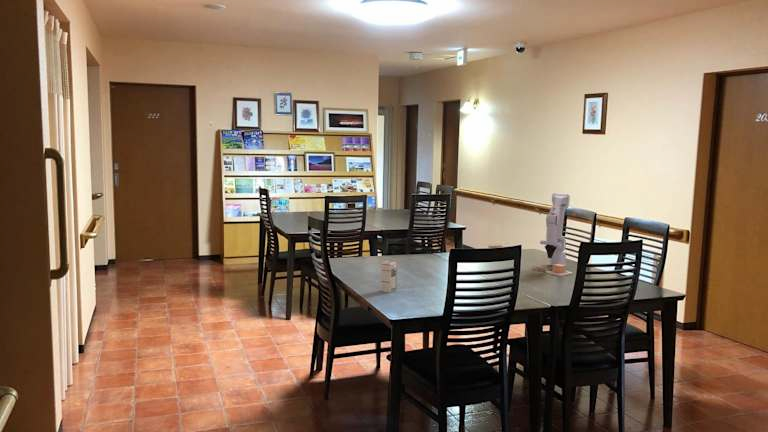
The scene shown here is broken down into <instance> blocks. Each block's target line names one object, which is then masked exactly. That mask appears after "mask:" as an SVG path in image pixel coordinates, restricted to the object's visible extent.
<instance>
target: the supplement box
mask: <svg viewBox="0 0 768 432" xmlns="http://www.w3.org/2000/svg"><path fill="white" fill-rule="evenodd" d="M501 247H504V246H503V244H500V243H498V244H497V243H495V244H494V243H489V244H488V248H501ZM488 248H487V249H488Z"/></svg>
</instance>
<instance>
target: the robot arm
mask: <svg viewBox="0 0 768 432" xmlns="http://www.w3.org/2000/svg"><path fill="white" fill-rule="evenodd" d="M570 198H571V197H570V194H569V193H556V192H553V193H552V196H551V203H552V207H551V208H550V210H549V213H548V215H546V218H545V222H546V225H545V228H546V233H545V234H546V235H545V240H540V241H539V244H540V245H545V246H544V249H545V251H546V254H547V259H549V263H546V265H545V266H550V267H551V266H552V267H553V265H554V264H562V265H566V266H567V264H566V259H567V257H566V256H567V254H566V246H567V245H566V238H565V237H564V236H563V234H562V233H563V228H564V227H563V225H564V218H565V212H566V210H567V209H569V206H570Z"/></svg>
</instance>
